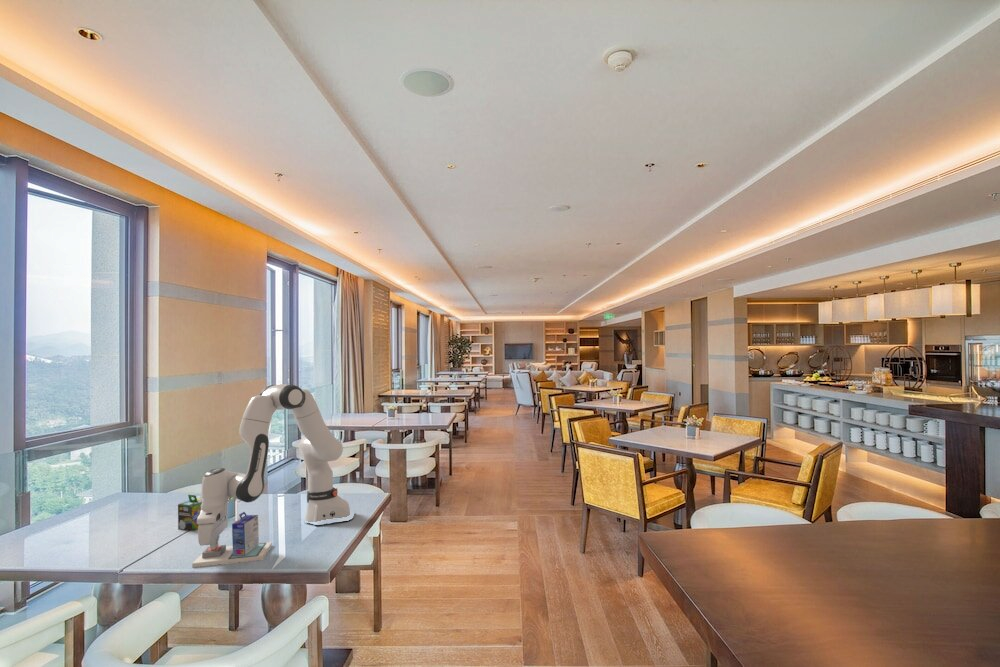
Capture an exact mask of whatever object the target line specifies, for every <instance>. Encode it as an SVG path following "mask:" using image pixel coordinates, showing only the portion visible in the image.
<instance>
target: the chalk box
mask: <svg viewBox="0 0 1000 667" xmlns="http://www.w3.org/2000/svg"><path fill="white" fill-rule="evenodd" d="M187 496H188V500H185V501H183V502H181V503H178V504H177V519H178V520H177V529H178V530H183V531H189V532H193V531H196V530H198V527H199V524H197V518H198V517H199V515H200V512H201V504H202V498H197V496H196V495H195V494H188V495H187ZM192 498H193V499H192Z"/></svg>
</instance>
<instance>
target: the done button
mask: <svg viewBox="0 0 1000 667" xmlns="http://www.w3.org/2000/svg"><path fill="white" fill-rule="evenodd" d="M221 548H222V546H219V545H218V546H217V547H216V548H215V549H214V550H211V549H210V548H209V549H208V550H207V552H209V551H219V550H220V549H221Z"/></svg>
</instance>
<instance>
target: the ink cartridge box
mask: <svg viewBox="0 0 1000 667" xmlns="http://www.w3.org/2000/svg"><path fill="white" fill-rule="evenodd" d="M243 515H244V516H243ZM231 529H232V530H231V534H232V538H231V539H232V540H231V541H232V546H233V555H246V554H247V553H249V552H250V551H251V550H253V549H254V548H255V547H257V546H258V545H259V535H260V534H259V514H247V513H246V511H243V512H241V513H240V514H239V519H238V520H236V521H235V522H233V523H232V524H231Z"/></svg>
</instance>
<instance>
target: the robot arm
mask: <svg viewBox="0 0 1000 667" xmlns="http://www.w3.org/2000/svg"><path fill="white" fill-rule="evenodd" d="M277 410H291V413H292V414H293V417H294V420H295V423H296V424H297V427H298V430H299V432H300V433H301V435H303V436H304V437H303V438H302V439H301V440H300V441H299V443H298V452H299V453H300V455H301V456H302V458H303V461H304V463H305V468H306V471H307V472H306V473H307V491H306V503H307V507H306V513H305V518H304V521H305V520H306V521H308V522H317V521H321V520H326V519H333V518H342V517H347V516H349V515H350V510H351V507H350V504H349V501H347V500H346V499H344V498H343V497H341V496H340V495H338V487H336V488H335V487H334V486H333V485H334V473H333V469H332V468H331V467H330V465H329V462H334V461H337V460H339V458H340V457H341V456H342V454H343V451H344V446H343V444H342V442H341V441H340V440H339V439H337V437H335V435H334V434H333V433H332V431H331V430H330V429H329V427H328V426H327V423H325V421H324V418H323V416H322V414H321V411H320V408H319V406H318V403H317V401H316V399H315V398H314V396H313V394H312V392H310V391H309V390H308V389H303V388H300V387H299V386H297V385H295V384H285V383H283V384H281V383H280V384H271V385H268V386H266V387H264V388H263V389H262V390H261V392H260V394H258V395H255V396H252V397H251V398H250V400H249V402H248V404H247V405H246V408H245V409H244V412H243V413H242V414H243V415H242V418H241V421H240V425H239V431H238V435H239V437H240V438H241V440H243V442H245V444H246V445H247V446H248V448H249V450H250V456H249V461H248V466H247V470H246V471H247V472H246V473H243V472H235V471H231V470H228V469H226V468H225V467H218V468H213V469H210V470H209V471H207V472H205V473H204V475H203V476H202V482H201V490H200V491H201V492H200V495H201V499H202V504H201V512H200V515H199V517H198V518H197V524H199V527H198V529H197V536H198V537H197V538H198V544H199V546H210V549H211V550H214V549H215V548H216V547H217V546H219V540H220V535H221V534H222V533H223V531H225V530H226V529H227V528H228V525H229V519H228V516H229V515H228V514H229V513H228V510H229V509H228V506H229V505H228V504H229V503H228V500H230V499H231V498H232V499H234V500H235V499H236V500H239V501H242V502H243V503H252V502H254V501H256V500H257V499H259V498H260V497H261V495H262V494H263V492H264V489H265V470H266V465H267V464H266V463H267V460H268V459H267V458H268V453H269V447H270V446H269V445H270V439H269V429H270V427H271V423H272V418H273V416H274V413H275V412H276V411H277Z"/></svg>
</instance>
